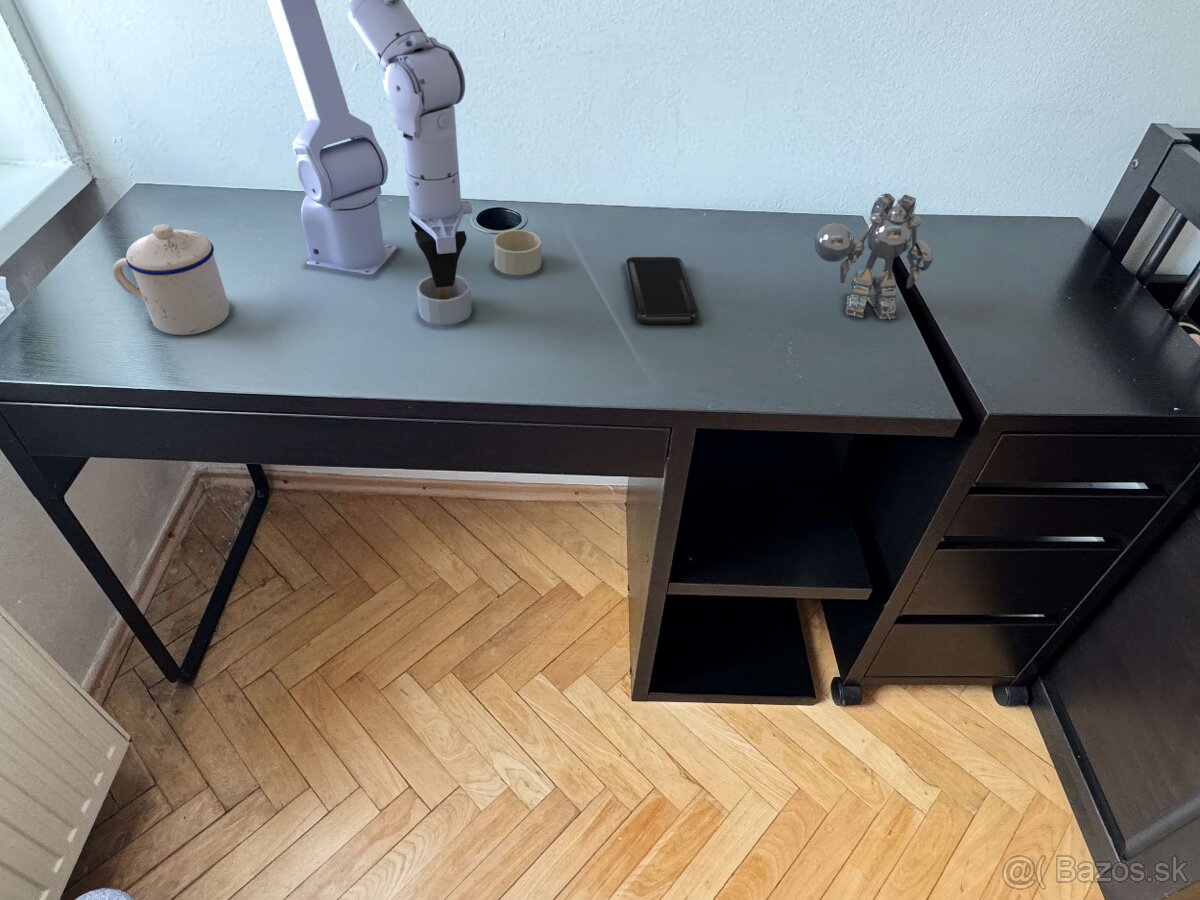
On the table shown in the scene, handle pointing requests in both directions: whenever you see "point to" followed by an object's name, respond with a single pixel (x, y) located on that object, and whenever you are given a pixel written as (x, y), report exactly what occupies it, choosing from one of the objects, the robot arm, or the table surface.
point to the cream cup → (517, 252)
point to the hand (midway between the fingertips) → (442, 279)
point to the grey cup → (444, 302)
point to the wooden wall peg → (444, 293)
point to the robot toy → (877, 253)
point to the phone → (660, 291)
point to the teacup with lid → (176, 280)
